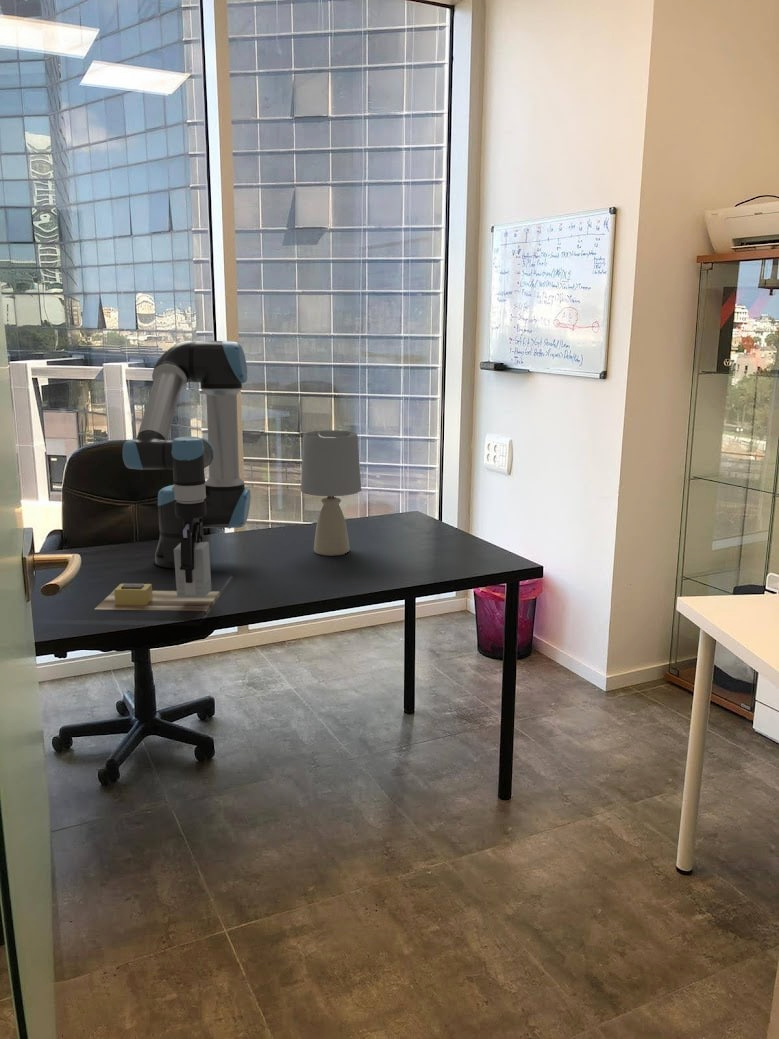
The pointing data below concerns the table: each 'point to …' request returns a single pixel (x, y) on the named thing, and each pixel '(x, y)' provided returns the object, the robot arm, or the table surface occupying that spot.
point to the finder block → (133, 594)
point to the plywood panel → (164, 602)
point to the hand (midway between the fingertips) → (194, 589)
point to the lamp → (330, 483)
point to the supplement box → (200, 569)
